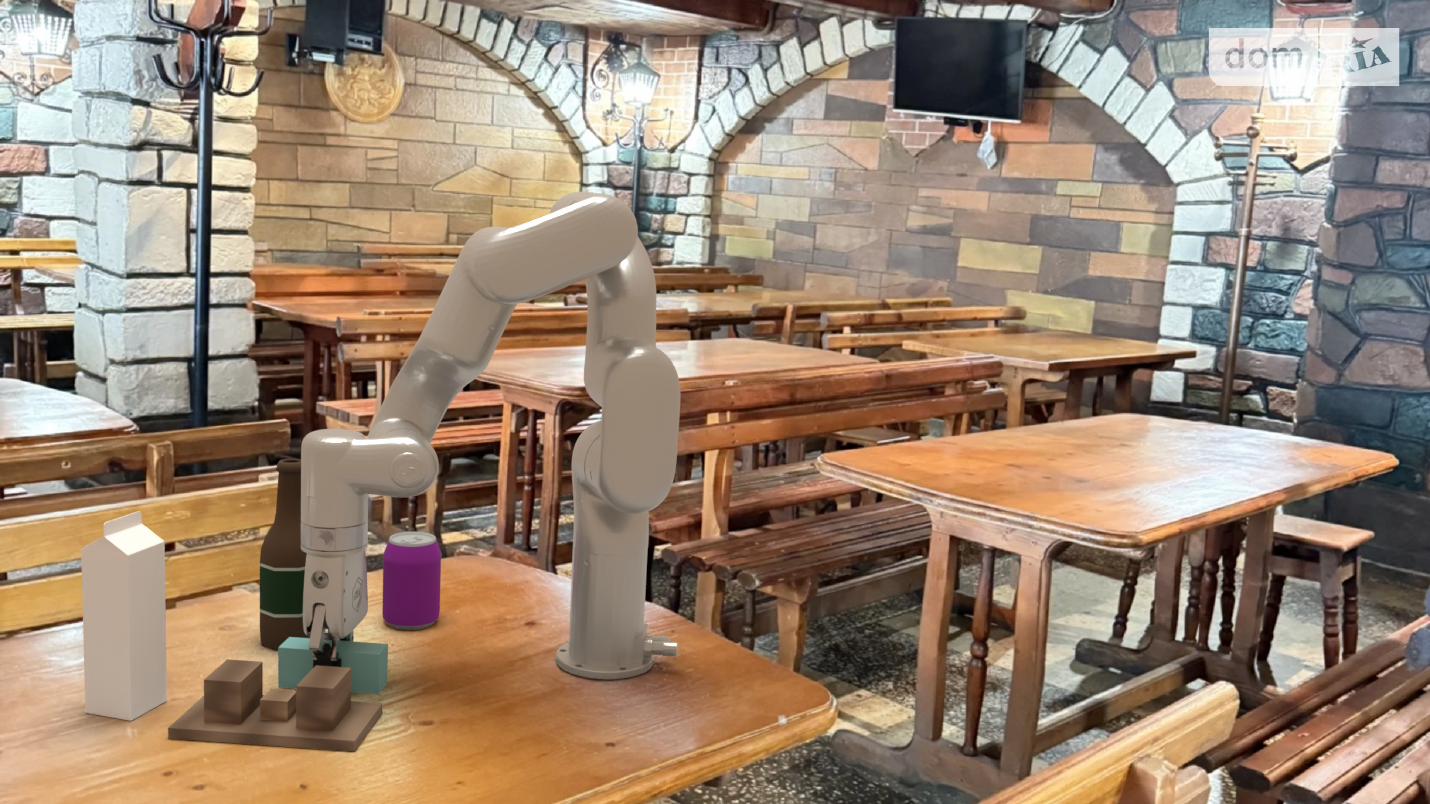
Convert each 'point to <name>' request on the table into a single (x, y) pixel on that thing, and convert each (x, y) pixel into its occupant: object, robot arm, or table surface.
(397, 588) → the beverage can
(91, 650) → the milk
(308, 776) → the table surface
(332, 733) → the ledge stand
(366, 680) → the teal bar
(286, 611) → the beer bottle
